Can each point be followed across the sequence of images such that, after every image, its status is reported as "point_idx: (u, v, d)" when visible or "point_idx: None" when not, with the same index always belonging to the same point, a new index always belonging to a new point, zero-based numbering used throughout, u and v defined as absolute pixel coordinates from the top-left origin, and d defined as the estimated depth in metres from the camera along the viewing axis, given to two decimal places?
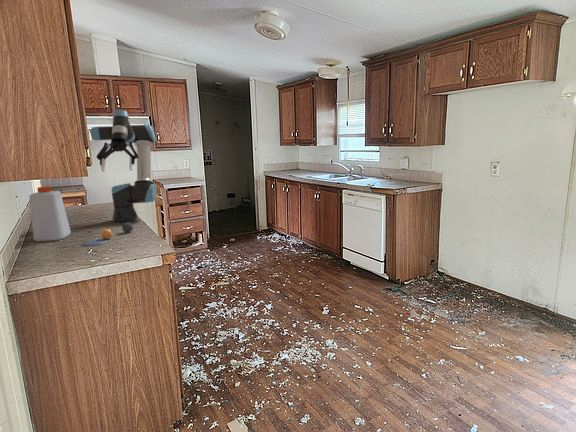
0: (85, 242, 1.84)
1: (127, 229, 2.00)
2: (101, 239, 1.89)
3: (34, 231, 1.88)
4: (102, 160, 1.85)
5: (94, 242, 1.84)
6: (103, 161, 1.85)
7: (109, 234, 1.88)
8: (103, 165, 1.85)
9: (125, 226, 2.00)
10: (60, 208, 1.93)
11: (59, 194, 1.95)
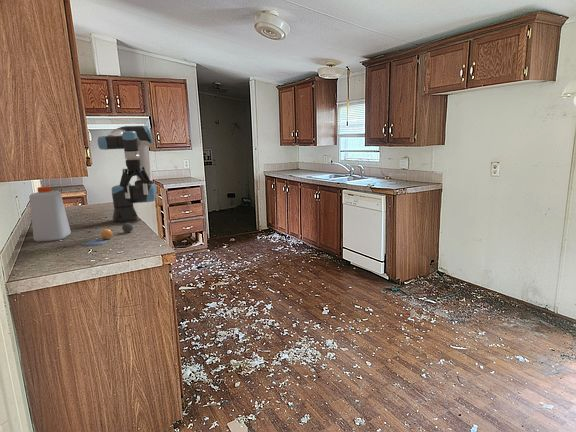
0: (85, 242, 1.84)
1: (127, 229, 2.00)
2: (101, 239, 1.89)
3: (34, 231, 1.88)
4: (128, 189, 2.00)
5: (94, 242, 1.84)
6: (128, 189, 2.00)
7: (109, 234, 1.88)
8: None
9: (125, 226, 2.00)
10: (60, 208, 1.93)
11: (59, 194, 1.95)
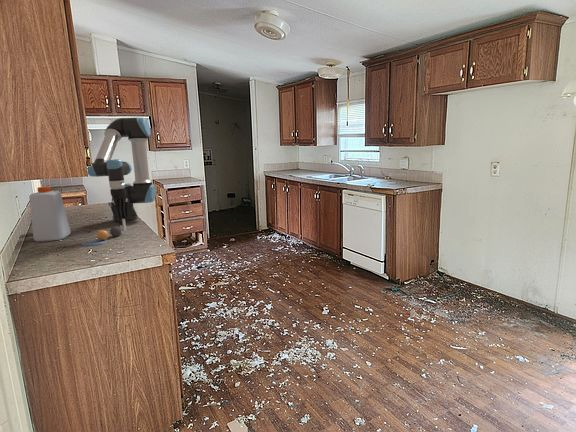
0: (85, 242, 1.84)
1: None
2: None
3: (34, 231, 1.88)
4: (123, 221, 1.98)
5: (94, 242, 1.84)
6: (124, 222, 1.98)
7: (105, 236, 1.86)
8: None
9: None
10: (60, 208, 1.93)
11: (59, 194, 1.95)
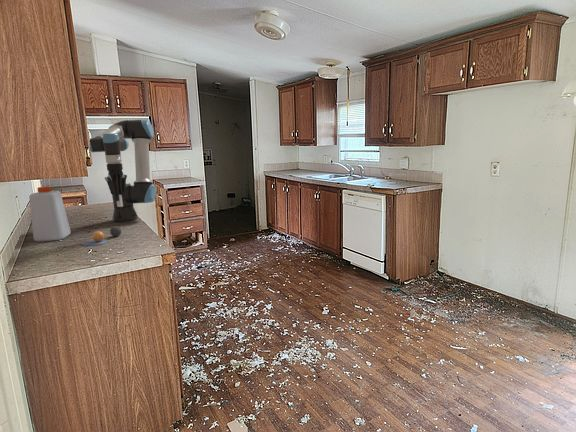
0: (85, 242, 1.84)
1: None
2: None
3: (34, 231, 1.88)
4: (120, 197, 1.95)
5: (94, 242, 1.84)
6: (120, 198, 1.96)
7: (102, 237, 1.85)
8: None
9: None
10: (60, 208, 1.93)
11: (59, 194, 1.95)
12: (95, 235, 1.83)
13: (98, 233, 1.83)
